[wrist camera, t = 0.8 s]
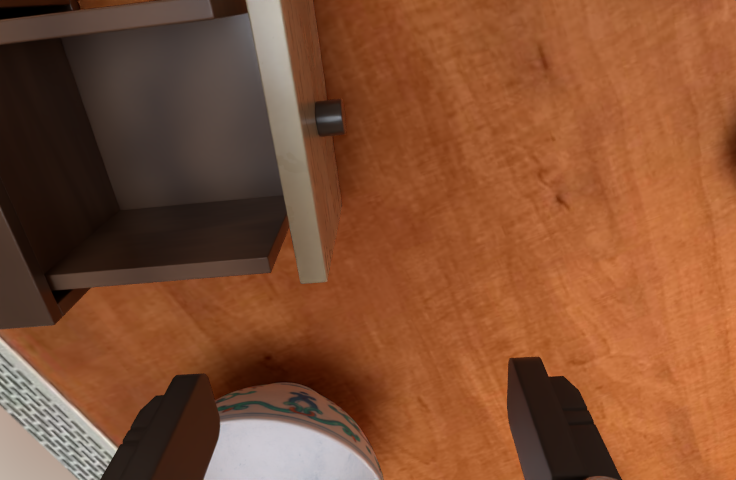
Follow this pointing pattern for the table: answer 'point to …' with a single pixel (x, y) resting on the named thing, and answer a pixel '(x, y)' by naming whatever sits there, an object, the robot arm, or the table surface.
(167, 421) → the robot arm
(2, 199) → the cabinet
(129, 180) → the drawer
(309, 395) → the chinaware
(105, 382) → the table surface
